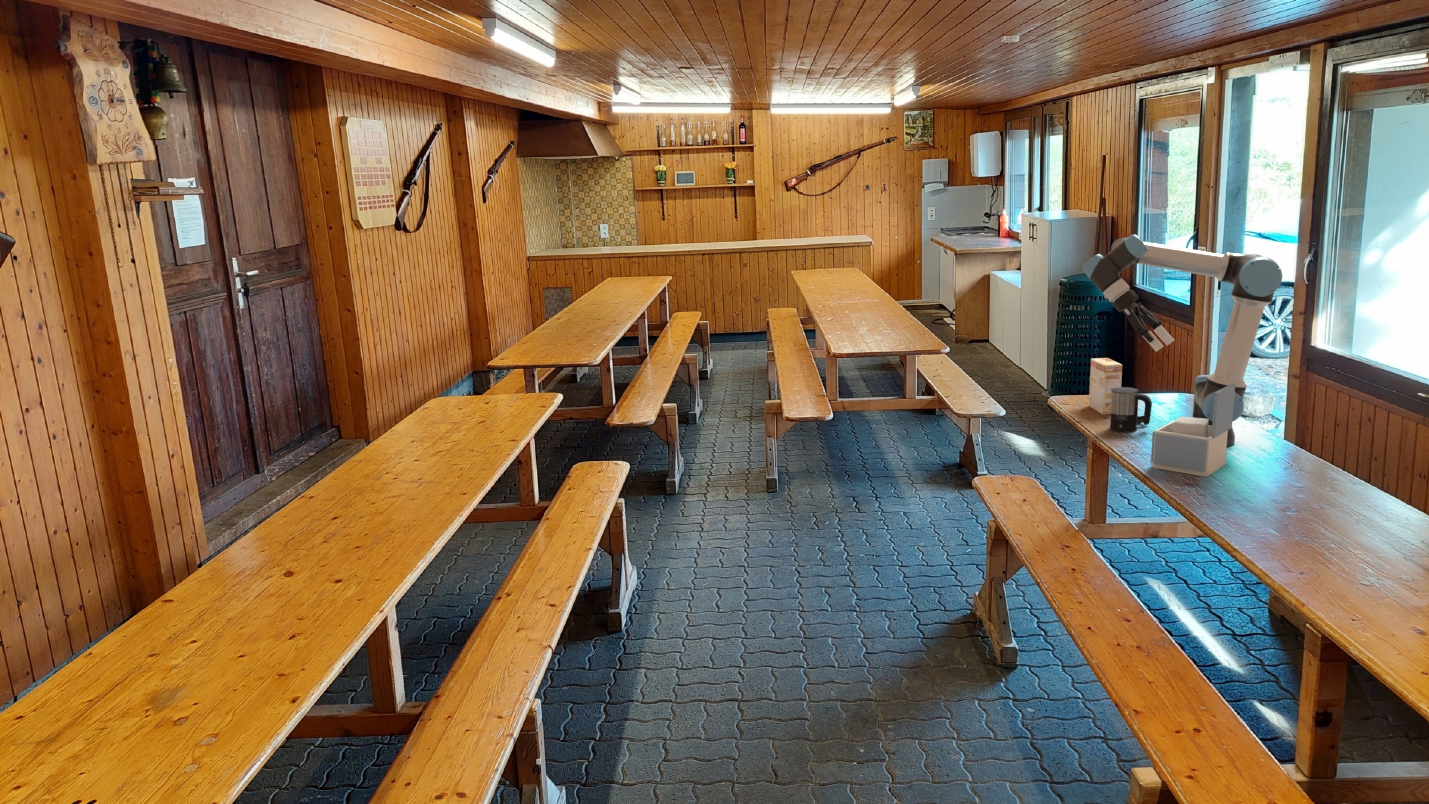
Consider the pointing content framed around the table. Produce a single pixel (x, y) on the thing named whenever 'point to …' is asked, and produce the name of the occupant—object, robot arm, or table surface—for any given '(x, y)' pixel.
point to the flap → (1223, 410)
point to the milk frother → (1128, 409)
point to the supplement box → (1192, 426)
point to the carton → (1188, 451)
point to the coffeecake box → (1103, 383)
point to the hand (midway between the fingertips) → (1165, 346)
